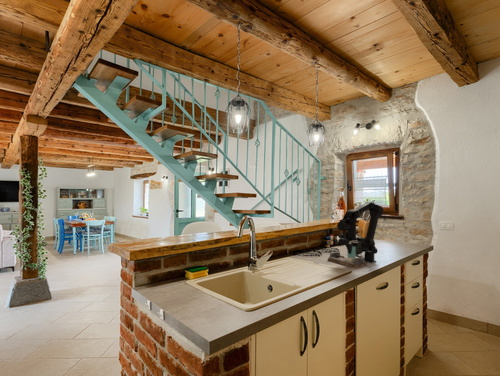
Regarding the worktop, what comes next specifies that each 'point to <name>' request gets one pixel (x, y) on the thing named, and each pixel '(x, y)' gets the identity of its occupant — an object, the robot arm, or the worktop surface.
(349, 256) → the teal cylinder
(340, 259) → the rail board
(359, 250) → the alarm clock
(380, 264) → the worktop surface
